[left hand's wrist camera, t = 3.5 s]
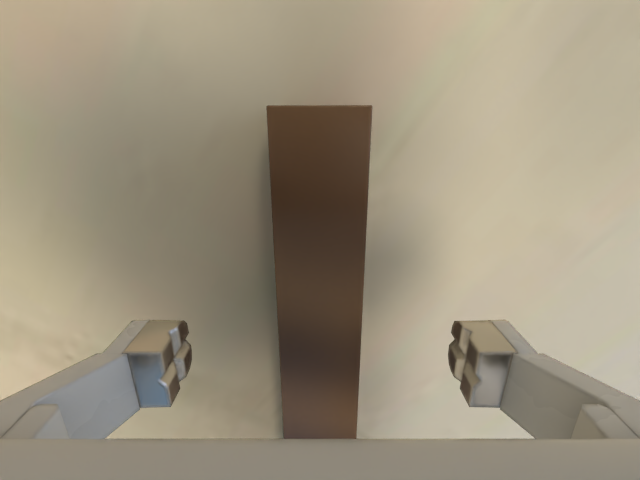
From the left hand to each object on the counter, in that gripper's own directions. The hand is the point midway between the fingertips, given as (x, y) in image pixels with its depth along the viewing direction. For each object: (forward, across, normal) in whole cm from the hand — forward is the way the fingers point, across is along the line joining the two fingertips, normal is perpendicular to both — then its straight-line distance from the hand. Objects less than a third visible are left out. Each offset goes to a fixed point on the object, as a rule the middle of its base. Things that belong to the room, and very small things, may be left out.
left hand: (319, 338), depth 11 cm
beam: (+13, 0, -32) cm, 35 cm away
